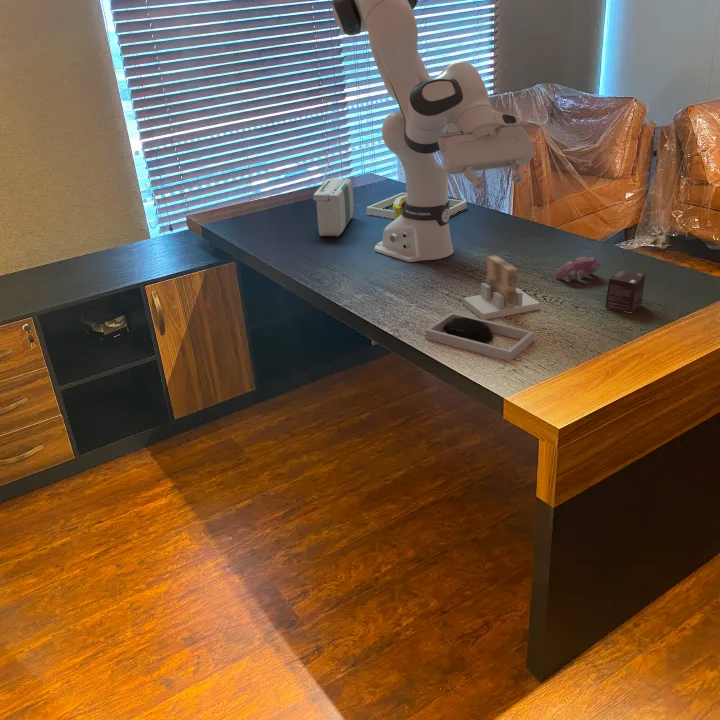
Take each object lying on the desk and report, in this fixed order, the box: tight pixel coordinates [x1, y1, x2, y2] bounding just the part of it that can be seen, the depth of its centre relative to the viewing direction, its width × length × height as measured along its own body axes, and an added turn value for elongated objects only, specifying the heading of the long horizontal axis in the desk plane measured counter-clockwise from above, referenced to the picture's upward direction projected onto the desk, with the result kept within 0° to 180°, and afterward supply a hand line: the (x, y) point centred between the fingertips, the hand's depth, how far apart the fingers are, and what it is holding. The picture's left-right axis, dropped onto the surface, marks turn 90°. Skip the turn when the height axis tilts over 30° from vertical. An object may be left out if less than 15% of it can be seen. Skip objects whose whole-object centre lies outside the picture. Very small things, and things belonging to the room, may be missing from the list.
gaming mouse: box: [443, 318, 494, 344], centre depth 150 cm, size 6×15×4 cm, turn 38°
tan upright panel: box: [485, 254, 518, 309], centre depth 158 cm, size 11×2×9 cm, turn 18°
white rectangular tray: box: [366, 192, 468, 220], centre depth 232 cm, size 26×21×2 cm
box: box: [604, 269, 646, 313], centre depth 156 cm, size 6×6×7 cm
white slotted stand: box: [462, 282, 541, 321], centre depth 160 cm, size 10×14×4 cm
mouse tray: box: [424, 311, 535, 362], centre depth 146 cm, size 20×11×2 cm, turn 52°
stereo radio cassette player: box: [312, 156, 355, 238], centre depth 218 cm, size 21×8×20 cm, turn 170°
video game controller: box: [554, 256, 601, 281], centre depth 172 cm, size 10×5×7 cm, turn 107°
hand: (498, 183), depth 151 cm, fingers open, 8 cm apart
